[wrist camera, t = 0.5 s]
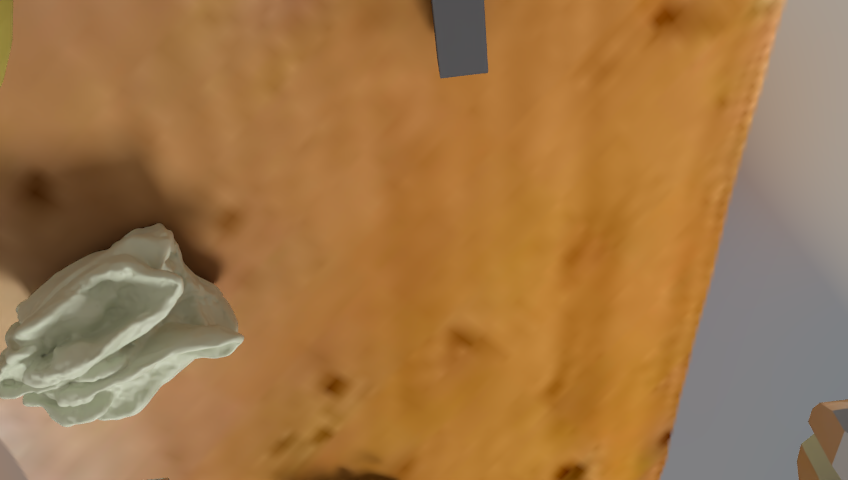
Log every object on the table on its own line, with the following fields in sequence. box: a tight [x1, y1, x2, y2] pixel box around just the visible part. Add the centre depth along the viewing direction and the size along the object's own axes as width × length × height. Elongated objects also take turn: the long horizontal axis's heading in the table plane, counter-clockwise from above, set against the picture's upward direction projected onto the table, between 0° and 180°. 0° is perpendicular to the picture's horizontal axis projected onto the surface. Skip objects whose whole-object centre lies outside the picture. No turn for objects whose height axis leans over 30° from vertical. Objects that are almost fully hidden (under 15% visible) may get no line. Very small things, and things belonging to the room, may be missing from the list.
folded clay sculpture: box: [0, 223, 244, 427], centre depth 60 cm, size 18×13×16 cm
